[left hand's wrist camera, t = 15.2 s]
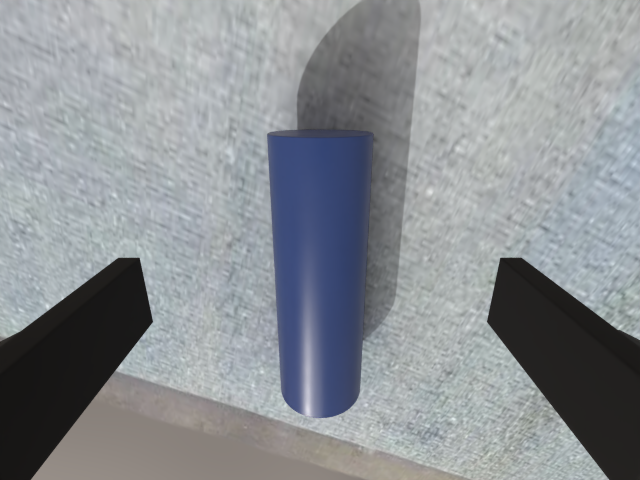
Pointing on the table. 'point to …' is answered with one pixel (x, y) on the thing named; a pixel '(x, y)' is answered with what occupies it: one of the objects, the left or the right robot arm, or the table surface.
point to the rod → (320, 263)
